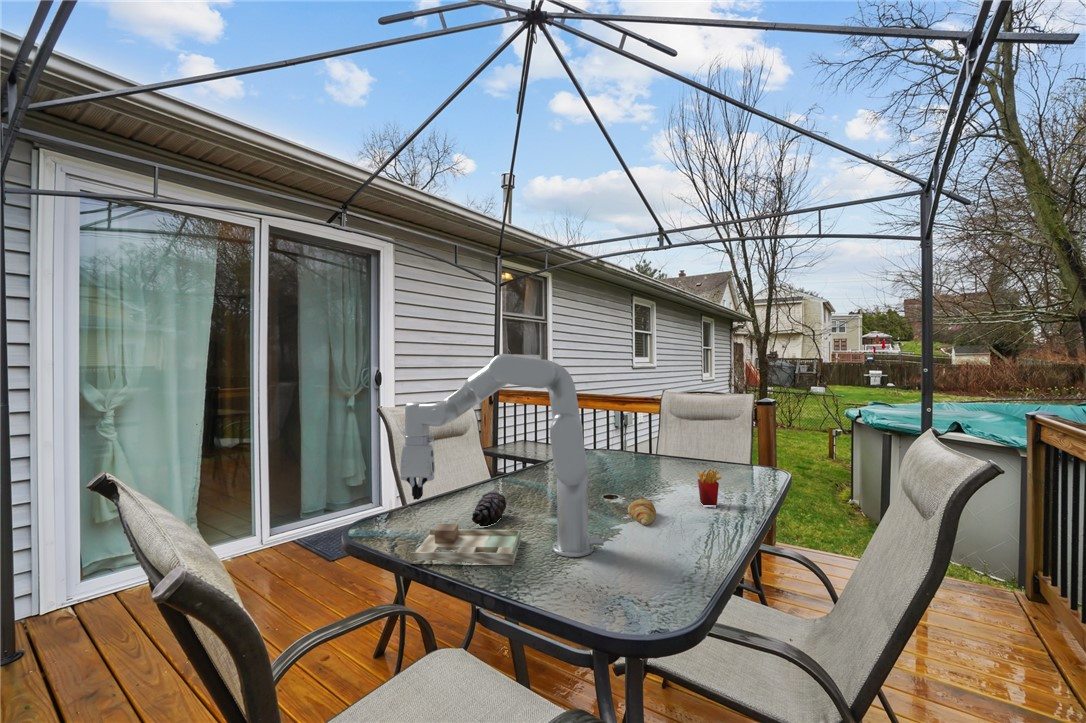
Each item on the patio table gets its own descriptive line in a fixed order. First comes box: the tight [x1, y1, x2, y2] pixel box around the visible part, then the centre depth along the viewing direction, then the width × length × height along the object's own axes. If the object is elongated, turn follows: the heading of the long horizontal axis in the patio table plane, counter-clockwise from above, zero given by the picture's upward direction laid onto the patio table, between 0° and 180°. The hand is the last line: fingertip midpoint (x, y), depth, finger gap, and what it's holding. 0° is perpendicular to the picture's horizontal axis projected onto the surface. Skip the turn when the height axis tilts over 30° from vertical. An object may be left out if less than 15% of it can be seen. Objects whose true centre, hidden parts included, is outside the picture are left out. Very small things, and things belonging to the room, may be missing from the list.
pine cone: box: [471, 490, 507, 526], centre depth 175 cm, size 10×18×10 cm, turn 170°
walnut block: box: [435, 523, 459, 544], centre depth 153 cm, size 6×6×4 cm
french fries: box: [697, 468, 722, 506], centre depth 189 cm, size 9×8×15 cm
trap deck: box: [409, 528, 522, 566], centre depth 148 cm, size 30×19×4 cm, turn 86°
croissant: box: [627, 497, 657, 526], centre depth 178 cm, size 21×10×8 cm, turn 177°
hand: (417, 498), depth 153 cm, fingers closed
